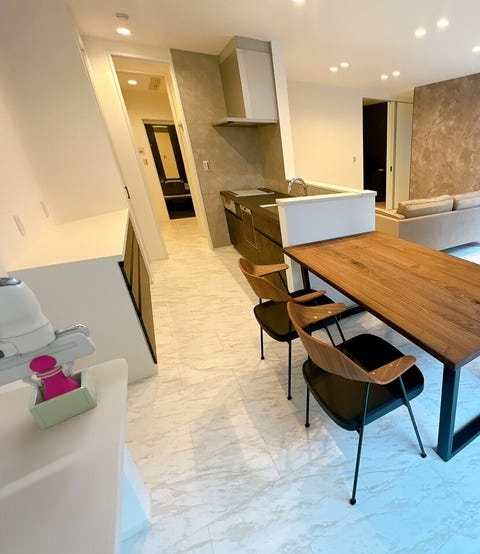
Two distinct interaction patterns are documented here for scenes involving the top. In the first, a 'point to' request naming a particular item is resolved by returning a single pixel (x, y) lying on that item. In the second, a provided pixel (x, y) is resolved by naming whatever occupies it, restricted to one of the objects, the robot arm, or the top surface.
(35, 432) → the top surface
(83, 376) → the holder
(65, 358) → the robot arm
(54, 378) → the pepper mill
